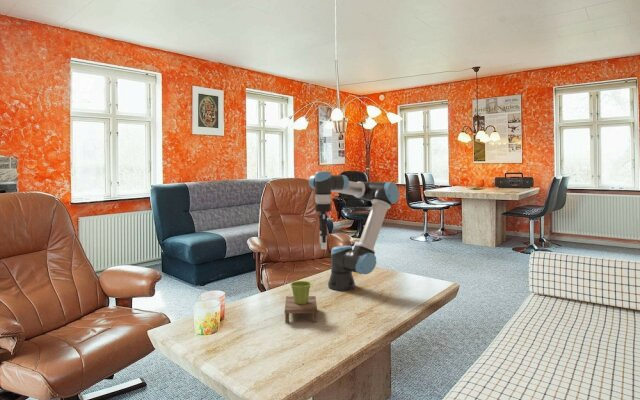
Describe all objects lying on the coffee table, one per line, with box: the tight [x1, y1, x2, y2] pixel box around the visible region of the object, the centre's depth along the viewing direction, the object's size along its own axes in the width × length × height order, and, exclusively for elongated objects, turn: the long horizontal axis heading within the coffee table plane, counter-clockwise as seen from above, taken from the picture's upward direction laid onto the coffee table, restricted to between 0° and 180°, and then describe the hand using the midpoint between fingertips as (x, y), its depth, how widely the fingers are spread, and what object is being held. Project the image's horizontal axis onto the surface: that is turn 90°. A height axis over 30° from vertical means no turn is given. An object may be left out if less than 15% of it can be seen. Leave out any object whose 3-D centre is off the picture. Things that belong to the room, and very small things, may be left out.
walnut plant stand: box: [284, 295, 318, 324], centre depth 182 cm, size 18×14×6 cm
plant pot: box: [290, 280, 312, 304], centre depth 182 cm, size 9×9×9 cm
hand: (323, 246), depth 196 cm, fingers open, 13 cm apart
